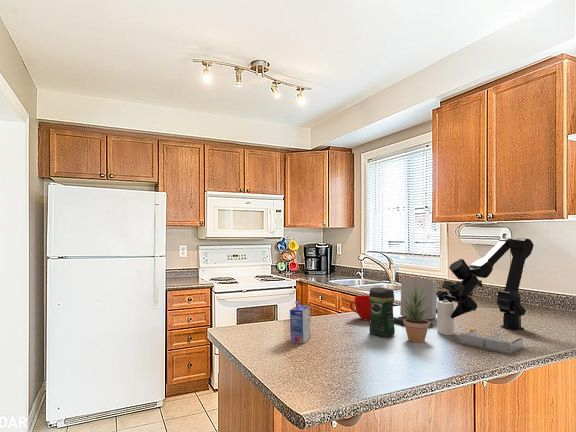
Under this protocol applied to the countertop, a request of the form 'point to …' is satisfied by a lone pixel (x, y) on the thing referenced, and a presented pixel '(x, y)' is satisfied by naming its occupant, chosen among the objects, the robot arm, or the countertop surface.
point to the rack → (490, 342)
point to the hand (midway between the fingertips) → (443, 315)
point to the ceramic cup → (362, 307)
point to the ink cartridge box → (300, 323)
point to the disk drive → (400, 319)
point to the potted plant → (416, 317)
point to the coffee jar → (381, 312)
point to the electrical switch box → (429, 299)
